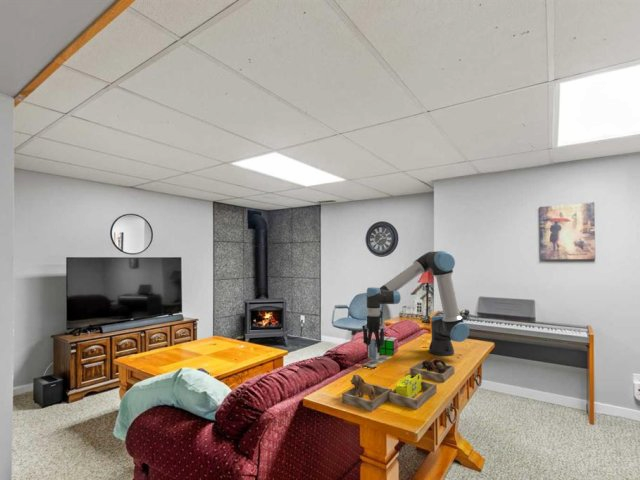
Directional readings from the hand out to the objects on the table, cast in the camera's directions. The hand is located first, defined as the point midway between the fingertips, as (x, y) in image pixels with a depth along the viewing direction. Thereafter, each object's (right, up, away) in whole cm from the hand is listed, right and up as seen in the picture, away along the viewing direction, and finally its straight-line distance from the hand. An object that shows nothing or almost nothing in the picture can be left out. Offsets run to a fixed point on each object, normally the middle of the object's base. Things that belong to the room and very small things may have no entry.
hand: (373, 357), depth 190 cm
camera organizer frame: (+10, -2, -44) cm, 45 cm away
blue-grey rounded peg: (0, -1, 0) cm, 1 cm away
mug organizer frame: (+28, -3, -15) cm, 32 cm away
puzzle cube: (+12, -6, +21) cm, 25 cm away
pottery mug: (+29, -4, -13) cm, 32 cm away
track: (+3, -4, +3) cm, 6 cm away
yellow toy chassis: (+9, -2, -42) cm, 43 cm away
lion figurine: (-11, -2, -47) cm, 48 cm away
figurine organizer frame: (-10, -1, -47) cm, 48 cm away
